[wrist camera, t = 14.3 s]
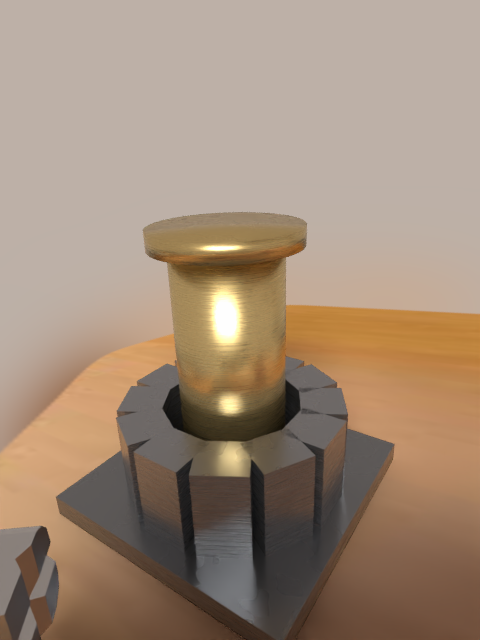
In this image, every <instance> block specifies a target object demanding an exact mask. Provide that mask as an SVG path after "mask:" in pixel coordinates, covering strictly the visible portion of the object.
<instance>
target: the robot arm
mask: <svg viewBox="0 0 480 640" xmlns="http://www.w3.org/2000/svg"><path fill="white" fill-rule="evenodd" d="M49 546H50V539H49V535H48V532H47V529H46V527H43V526H35V527H24V528H12V529H1V530H0V640H41V637H40V636H41V635H42V634H43V633H44V632H45V631H46V630H47V628H48V627H49V626H50V625H51V624H52V622H53V618H54V614H55V611H56V607H57V599H58V589H59V581H58V570H57V566H56V562H55V561H54V560H53V559H51V558H50V557H49V556H47V552H48V549H49Z"/></svg>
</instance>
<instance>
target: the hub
mask: <svg viewBox="0 0 480 640" xmlns="http://www.w3.org/2000/svg"><path fill="white" fill-rule="evenodd" d="M137 385H138V386H131V388H130V390H129V391H128V393H127V395H126V396H125V398H124V400H123V402H122V403H121V405H120V407H119V408H118V410H117V416H118V417H117V418H116V420H117V427H118V433H119V439H120V445H121V451H119V452H118V453H117V454H115V455H114V456H112V457H111V458H110V459H108V460H107V461H105V462H104V463H103V464H101V465H100V466H98V467H97V468H96V469H94V470H93V471H92V472H90V473H89V474H87V475H86V476H85V477H83V478H82V479H80V480H79V481H78V482H76V483H75V484H73V485H72V486H71V487H69V488H68V489H66V490H65V491H64V492H62V493H61V494H59V495H58V496H57V497H56V499H57V504H58V508H59V512H60V514H61V515H63V516H64V517H66V518H67V519H69V520H70V521H72V522H73V523H75V524H76V525H78V526H79V527H81V528H82V529H84V530H85V531H87V532H88V533H90V534H91V535H93V536H94V537H96V538H97V539H98V540H100V541H101V542H103V543H104V544H106V545H107V546H109V547H110V548H112V549H113V550H115V551H116V552H118V553H119V554H121V555H122V556H124V557H125V558H127V559H128V560H130V561H131V562H133V563H134V564H136V565H137V566H138V567H140V568H141V569H143V570H144V571H146V572H147V573H149V574H150V575H152V576H153V577H155V578H156V579H158V580H159V581H161V582H162V583H164V584H165V585H167V586H168V587H170V588H171V589H173V590H174V591H176V592H177V593H178V594H180V595H181V596H183V597H184V598H186V599H187V600H189V601H190V602H192V603H193V604H195V605H196V606H198V607H199V608H201V609H202V610H204V611H205V612H207V613H208V614H210V615H211V616H213V617H214V618H215V619H217V620H218V621H220V622H221V623H223V624H224V625H226V626H227V627H229V628H230V629H232V630H233V631H235V632H236V633H238V634H239V635H241V636H242V637H244V638H245V639H247V640H295V638H296V636H297V635H298V633H299V631H300V629H301V627H302V625H303V624H304V622H305V620H306V618H307V616H308V614H309V613H310V611H311V609H312V607H313V605H314V603H315V602H316V600H317V598H318V596H319V594H320V592H321V590H322V589H323V587H324V585H325V583H326V581H327V579H328V578H329V576H330V574H331V572H332V570H333V568H334V567H335V565H336V563H337V561H338V559H339V557H340V556H341V554H342V552H343V550H344V548H345V546H346V545H347V543H348V541H349V539H350V537H351V535H352V534H353V532H354V530H355V528H356V526H357V524H358V523H359V521H360V519H361V517H362V515H363V513H364V512H365V510H366V508H367V506H368V504H369V502H370V501H371V499H372V497H373V495H374V493H375V491H376V489H377V488H378V486H379V484H380V482H381V480H382V478H383V477H384V475H385V473H386V471H387V469H388V467H389V466H390V464H391V462H392V460H393V453H394V444H392V443H389V442H386V441H383V440H380V439H377V438H374V437H371V436H368V435H365V434H362V433H359V432H356V431H353V430H350V429H347V422H348V413H347V409H346V405H345V401H344V397H343V393H342V389H341V388H337V382H335V381H334V380H332V379H331V378H330V377H328V376H327V375H325V374H324V373H323V372H321V371H320V370H319V369H317V368H316V367H314V366H313V365H312V364H311V365H307V366H304V361H301V360H297V359H294V358H290V357H286V358H285V427H284V428H283V429H282V430H280V431H276V432H273V433H270V434H267V435H264V436H261V437H258V438H255V439H252V440H249V441H246V442H241V441H204V440H201V439H199V438H197V437H194V436H192V435H189V434H187V433H185V432H184V430H183V420H182V410H181V400H180V389H179V379H178V369H177V360H176V361H175V366H172V365H169V364H166V365H164V366H162V367H160V368H159V369H157V370H155V371H154V372H152V373H150V374H148V375H147V376H145V377H143V378H142V379H140V380H138V381H137Z"/></svg>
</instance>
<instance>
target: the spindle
mask: <svg viewBox="0 0 480 640" xmlns="http://www.w3.org/2000/svg"><path fill="white" fill-rule="evenodd" d="M143 236H144V244H145V253H146V254H147V255H148V256H149V257H151V258H153V259H156V260H159V261H163V262H167V265H168V276H169V286H170V297H171V307H172V317H173V327H174V338H175V348H176V358H177V369H178V379H179V389H180V400H181V410H182V420H183V430H184V432H185V433H187V434H189V435H192V436H194V437H197V438H199V439H201V440H204V441H241V442H246V441H249V440H252V439H255V438H258V437H261V436H264V435H267V434H270V433H273V432H276V431H280V430H282V429H283V428H284V427H285V358H286V257H289V256H291V255H294V254H296V253H299V252H300V251H302V250H303V249H304V248H305V247H306V236H307V223H306V222H305V221H304V220H302V219H300V218H297V217H293V216H288V215H281V214H270V213H252V212H249V213H248V212H235V213H212V214H199V215H190V216H183V217H177V218H171V219H167V220H162V221H159V222H155V223H153V224H150V225H148V226H146V227H145V228H144V229H143Z"/></svg>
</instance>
